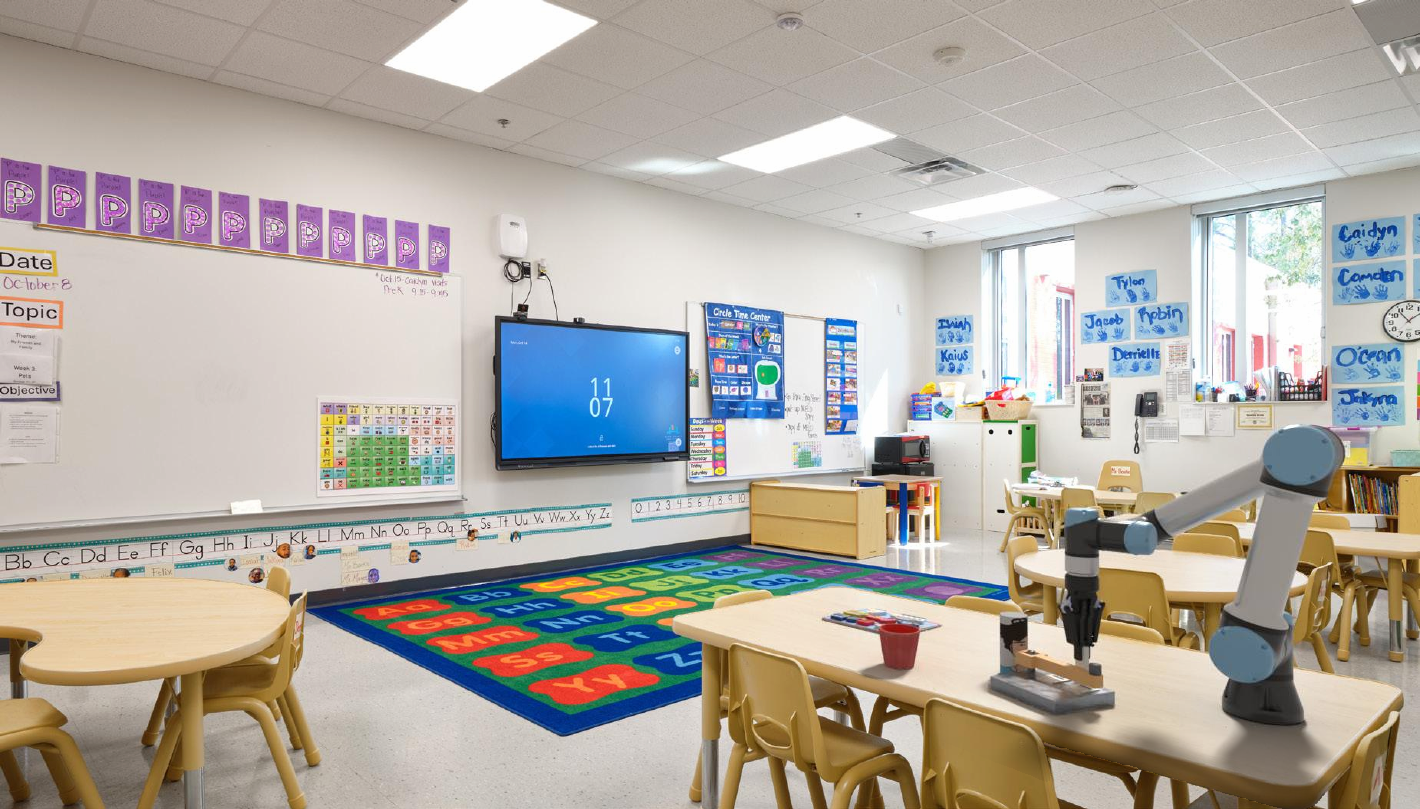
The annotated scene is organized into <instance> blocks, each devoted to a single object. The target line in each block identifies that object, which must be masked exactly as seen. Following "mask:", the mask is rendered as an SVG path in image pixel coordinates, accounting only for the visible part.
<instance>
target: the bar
mask: <svg viewBox="0 0 1420 809" xmlns="http://www.w3.org/2000/svg"><path fill="white" fill-rule="evenodd" d="M1028 650H1034V651H1035V655H1029V654H1028V653H1027V651H1028ZM1028 650H1022V651H1015V661H1016V663H1017V664H1020V665H1023V666H1026V667H1028V668H1031V669H1032V668H1035V669H1040V670H1043V671H1046V672H1048V673H1051V674H1054V675H1057V676H1060V677H1062V678H1065V679H1068V680H1071V681H1074V682H1077V683H1079V684H1082V685H1085V686H1088V687H1091V688H1094V689H1097V688H1103V687H1104V674H1103V673H1102V671H1103V670H1102V668H1103V667H1102V664H1101V663H1097V662H1089V670H1087V669H1084V668H1081V667H1078V666H1075V664H1071V663H1069V662H1065V661H1062V660H1061V659H1057V658H1054V657H1050V656H1048V654H1047V653H1045V652H1040V651H1038V650H1036V649H1032V648H1031V649H1028Z"/></svg>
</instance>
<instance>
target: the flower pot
mask: <svg viewBox="0 0 1420 809" xmlns="http://www.w3.org/2000/svg"><path fill="white" fill-rule="evenodd" d="M878 634H879V641H880V647H881V653H882V659H883V663H884V666H886V667H888V668H891V669H892V668H893V669H897V670H907V669H908V670H909V669H911V668H913V667H915V663H916V657H917V652H918V646H919V641H920V640H919V639H920V634H921V632H920V629H919V628H917V627H915V626H912V625H906V624H884V625H881V626H879V633H878Z"/></svg>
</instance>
